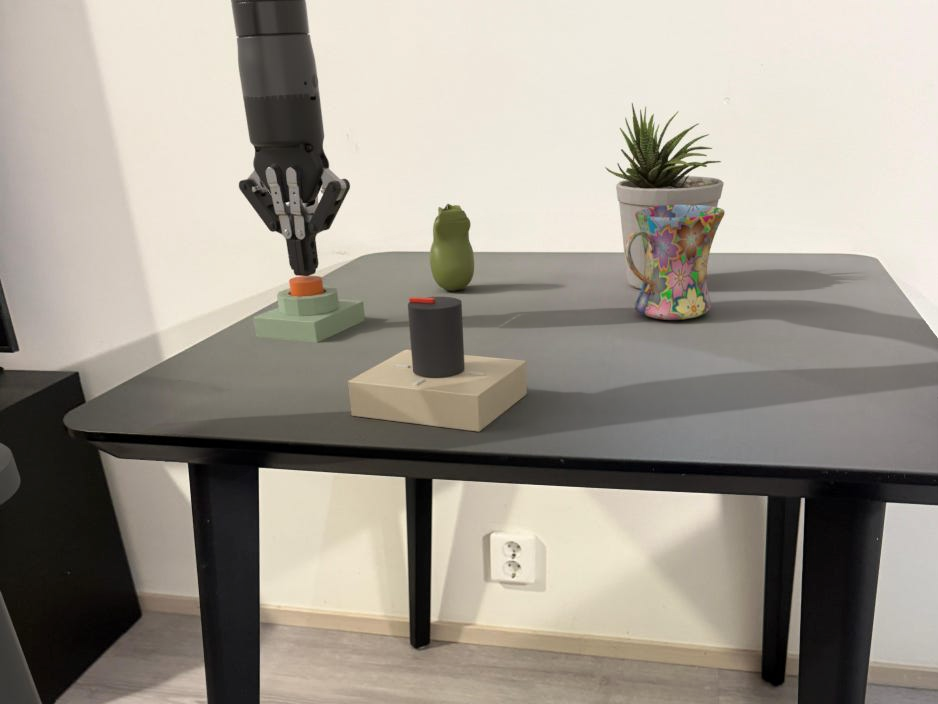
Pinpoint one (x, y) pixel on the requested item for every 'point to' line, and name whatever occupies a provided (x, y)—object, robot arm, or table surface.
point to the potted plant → (658, 182)
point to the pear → (451, 249)
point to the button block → (309, 316)
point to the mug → (674, 259)
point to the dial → (436, 336)
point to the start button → (306, 286)
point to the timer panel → (439, 392)
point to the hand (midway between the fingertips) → (305, 274)
